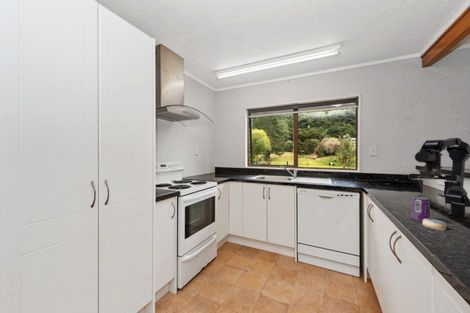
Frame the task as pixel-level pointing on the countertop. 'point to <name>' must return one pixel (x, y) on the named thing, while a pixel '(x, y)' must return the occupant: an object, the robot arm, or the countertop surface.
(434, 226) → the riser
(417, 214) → the beverage can
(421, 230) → the countertop surface
